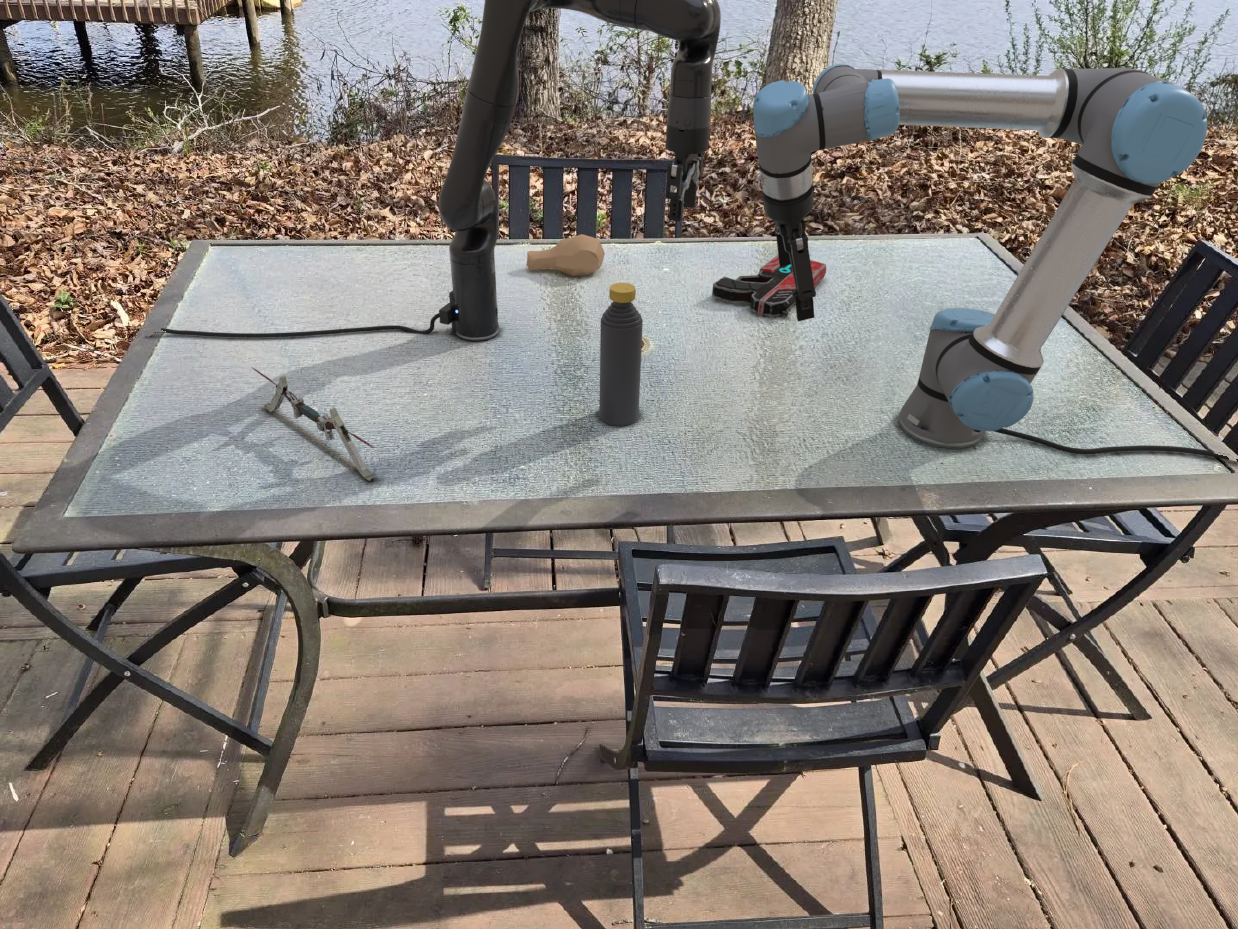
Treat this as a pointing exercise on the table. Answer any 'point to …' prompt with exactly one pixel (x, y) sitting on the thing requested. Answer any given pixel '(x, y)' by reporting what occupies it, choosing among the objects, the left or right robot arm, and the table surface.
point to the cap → (622, 292)
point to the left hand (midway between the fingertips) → (682, 213)
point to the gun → (765, 288)
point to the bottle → (620, 364)
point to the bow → (319, 423)
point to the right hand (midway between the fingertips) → (796, 290)
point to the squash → (569, 256)
